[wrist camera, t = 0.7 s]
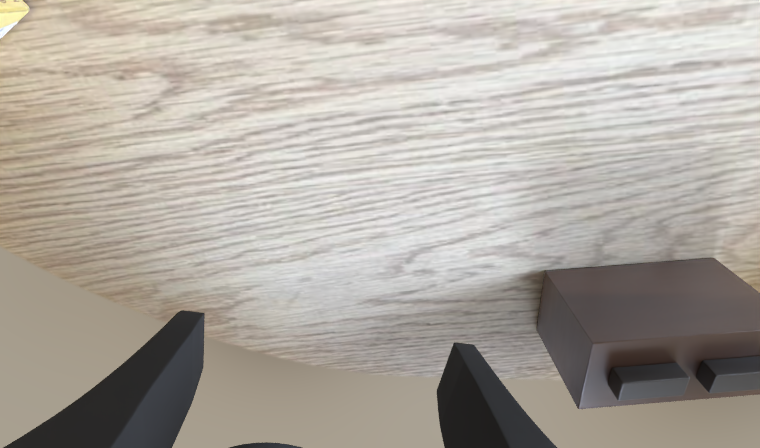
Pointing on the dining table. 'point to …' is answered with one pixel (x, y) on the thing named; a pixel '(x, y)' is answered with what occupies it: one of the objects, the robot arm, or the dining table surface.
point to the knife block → (651, 332)
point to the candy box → (11, 14)
